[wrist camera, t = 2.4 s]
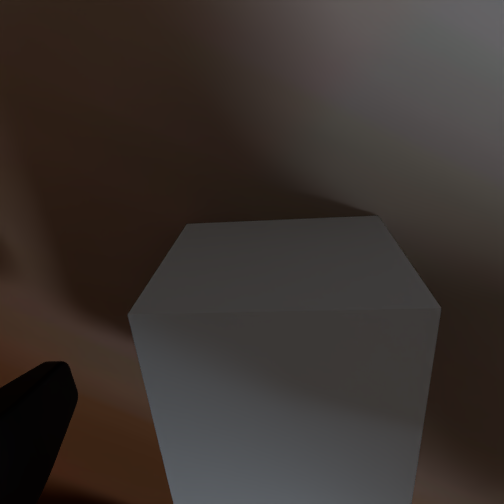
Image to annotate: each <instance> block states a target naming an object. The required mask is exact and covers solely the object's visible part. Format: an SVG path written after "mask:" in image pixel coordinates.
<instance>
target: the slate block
mask: <svg viewBox="0 0 504 504" xmlns="http://www.w3.org/2000/svg"><path fill="white" fill-rule="evenodd" d="M440 315H441V307H440V305H439V304H438V302H437V301H436V299H435V298H434V297H433V295H432V294H431V292H430V291H429V289H428V288H427V286H426V285H425V283H424V282H423V281H422V279H421V278H420V276H419V275H418V273H417V272H416V270H415V269H414V267H413V266H412V264H411V263H410V262H409V260H408V259H407V257H406V256H405V254H404V253H403V251H402V250H401V248H400V247H399V245H398V244H397V243H396V241H395V240H394V238H393V237H392V235H391V234H390V232H389V231H388V229H387V228H386V227H385V225H384V224H383V222H382V221H381V219H380V218H379V216H355V217H332V218H310V219H287V220H264V221H241V222H218V223H196V224H186V226H185V227H184V229H183V231H182V232H181V234H180V235H179V237H178V238H177V240H176V241H175V243H174V244H173V246H172V247H171V249H170V250H169V252H168V253H167V255H166V257H165V258H164V260H163V261H162V263H161V264H160V266H159V267H158V269H157V270H156V272H155V273H154V275H153V276H152V278H151V279H150V281H149V283H148V284H147V286H146V287H145V289H144V290H143V292H142V293H141V295H140V296H139V298H138V299H137V301H136V302H135V304H134V305H133V307H132V309H131V310H130V312H129V313H128V319H129V323H130V327H131V331H132V335H133V339H134V343H135V347H136V351H137V356H138V360H139V364H140V368H141V372H142V376H143V380H144V384H145V388H146V392H147V397H148V401H149V405H150V409H151V413H152V417H153V421H154V425H155V429H156V433H157V438H158V442H159V446H160V450H161V454H162V458H163V462H164V466H165V470H166V474H167V479H168V483H169V487H170V491H171V495H172V499H173V503H174V504H411V503H412V497H413V490H414V484H415V477H416V471H417V464H418V458H419V451H420V445H421V438H422V432H423V425H424V419H425V412H426V406H427V399H428V393H429V386H430V380H431V373H432V367H433V360H434V354H435V347H436V341H437V334H438V328H439V321H440Z"/></svg>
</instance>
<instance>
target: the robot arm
mask: <svg viewBox="0 0 504 504" xmlns="http://www.w3.org/2000/svg"><path fill="white" fill-rule="evenodd" d="M77 400H78V391H77V388H76V385H75V382H74V379H73V376H72V373H71V370H70V367H69V365H68V364H67V363H66V362H63V361H48V362H44V363H42V364H40V365H38V366H37V367H35V368H33V369H32V370H30V371H28V372H27V373H25V374H23V375H21V376H20V377H18V378H16V379H15V380H13V381H11V382H10V383H8V384H6V385H4V386H3V387H1V388H0V504H36V503H37V501H38V499H39V497H40V495H41V493H42V491H43V488H44V486H45V484H46V482H47V480H48V477H49V475H50V473H51V470H52V468H53V465H54V463H55V460H56V457H57V455H58V452H59V449H60V447H61V444H62V441H63V439H64V436H65V434H66V431H67V428H68V426H69V423H70V420H71V418H72V415H73V412H74V410H75V407H76V404H77Z"/></svg>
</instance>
